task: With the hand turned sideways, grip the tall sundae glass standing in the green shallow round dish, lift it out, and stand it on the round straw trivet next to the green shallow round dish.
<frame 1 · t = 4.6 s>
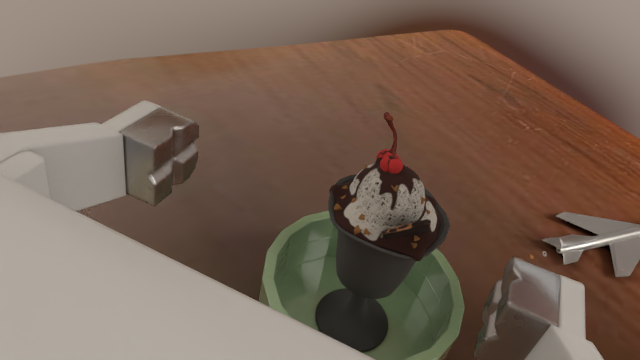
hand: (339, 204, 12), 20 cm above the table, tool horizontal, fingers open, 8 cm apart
toy airplane: (601, 245, 45), on the table
sundae: (350, 320, 34), resting on green shallow round dish
green shallow round dish: (350, 321, 34), on the table
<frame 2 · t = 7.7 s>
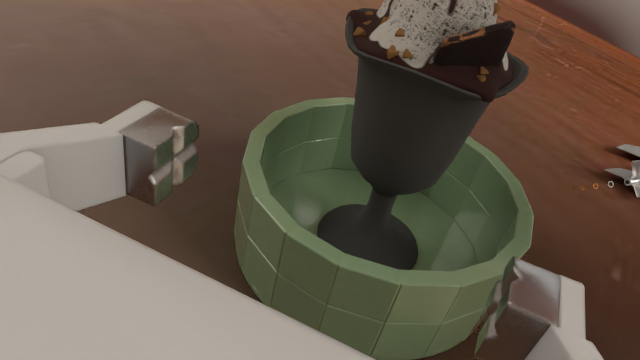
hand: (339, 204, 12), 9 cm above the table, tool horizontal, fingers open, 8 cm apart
sundae: (365, 243, 24), resting on green shallow round dish
green shallow round dish: (364, 245, 24), on the table
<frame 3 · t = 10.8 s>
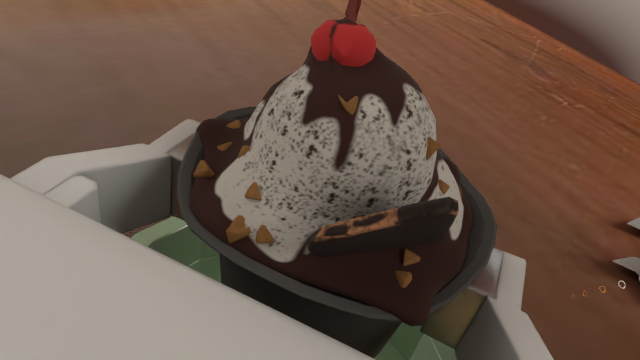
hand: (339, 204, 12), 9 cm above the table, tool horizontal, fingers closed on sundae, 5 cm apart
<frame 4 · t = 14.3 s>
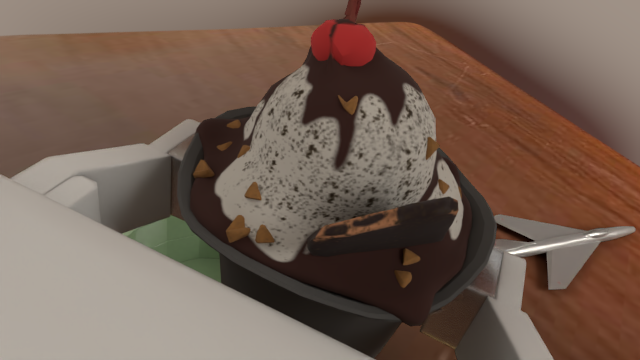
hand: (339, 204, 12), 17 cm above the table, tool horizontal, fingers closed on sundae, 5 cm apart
toy airplane: (538, 252, 39), on the table
green shallow round dish: (210, 338, 28), on the table
when the fingers open (10 cm above the table, at t = 17.8 s): sundae stays where it is, resting on trivet.
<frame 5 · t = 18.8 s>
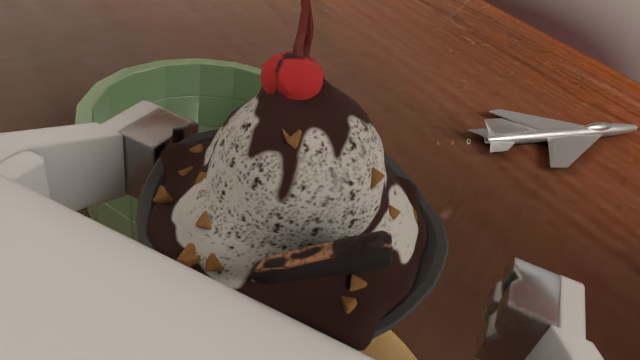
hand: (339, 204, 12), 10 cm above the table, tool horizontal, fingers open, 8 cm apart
toy airplane: (540, 142, 39), on the table
green shallow round dish: (209, 186, 28), on the table
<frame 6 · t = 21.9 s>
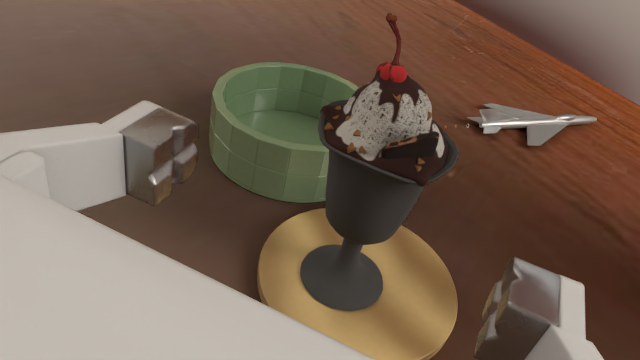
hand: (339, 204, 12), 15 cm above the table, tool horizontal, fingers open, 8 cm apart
trivet: (356, 283, 31), on the table
toy airplane: (521, 128, 51), on the table
sundae: (340, 278, 30), point 1 cm above the table, touching trivet
green shallow round dish: (289, 150, 40), on the table
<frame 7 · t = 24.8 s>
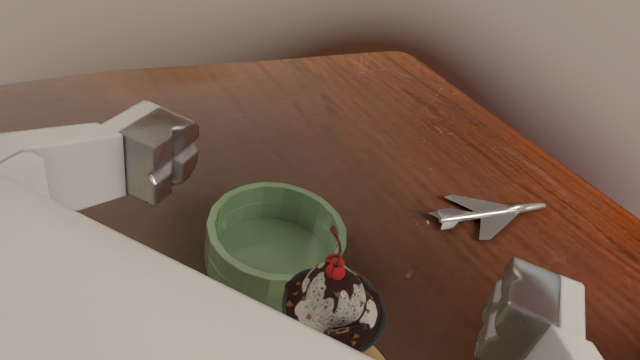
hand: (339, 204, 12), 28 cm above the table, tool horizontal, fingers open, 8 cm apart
toy airplane: (476, 219, 59), on the table
green shallow round dish: (271, 260, 48), on the table
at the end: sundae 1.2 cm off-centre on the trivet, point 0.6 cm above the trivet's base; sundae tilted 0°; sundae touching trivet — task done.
